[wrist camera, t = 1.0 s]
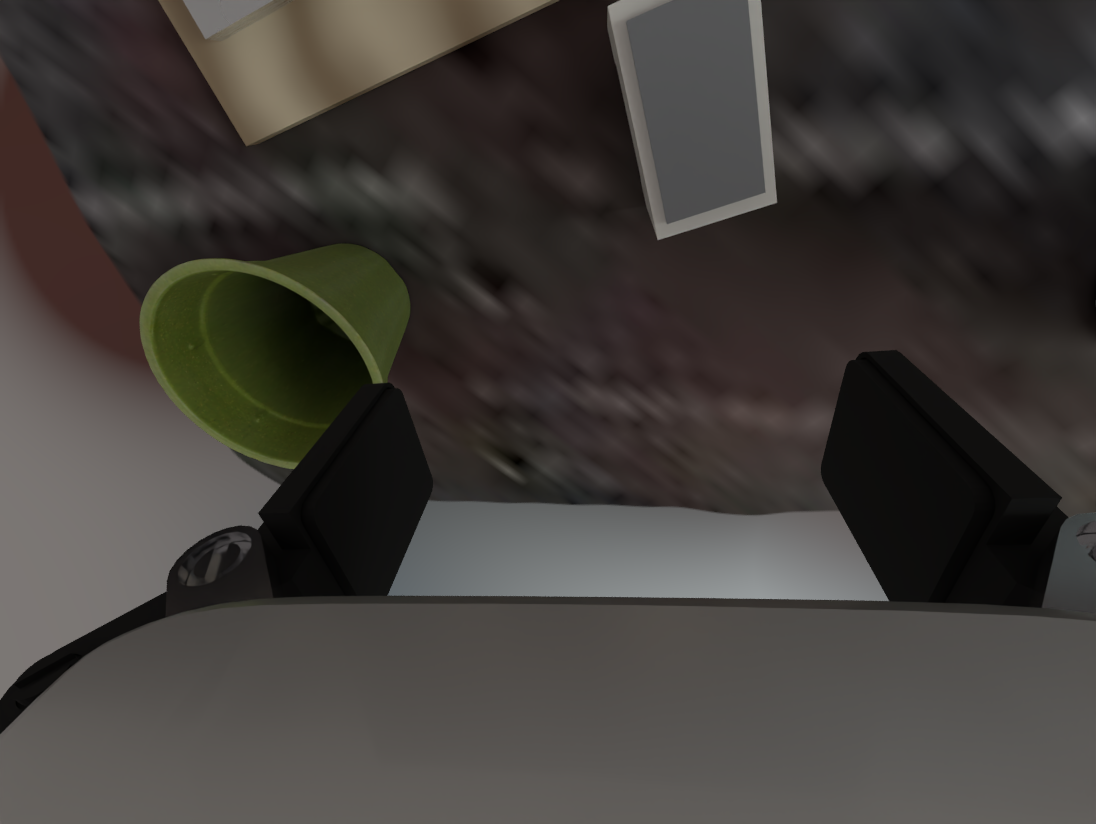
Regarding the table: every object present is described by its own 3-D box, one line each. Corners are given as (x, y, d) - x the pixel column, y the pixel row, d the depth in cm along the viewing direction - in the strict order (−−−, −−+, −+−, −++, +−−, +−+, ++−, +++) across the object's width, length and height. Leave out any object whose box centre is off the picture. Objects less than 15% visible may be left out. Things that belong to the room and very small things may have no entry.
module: (710, -37, 21) (756, -90, 15) (736, 175, 26) (780, 204, 19) (603, 12, 23) (603, -18, 16) (646, 205, 27) (658, 242, 21)
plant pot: (327, 382, 37) (234, 482, 27) (241, 226, 30) (81, 287, 21) (469, 359, 34) (419, 460, 25) (408, 184, 28) (310, 232, 19)
